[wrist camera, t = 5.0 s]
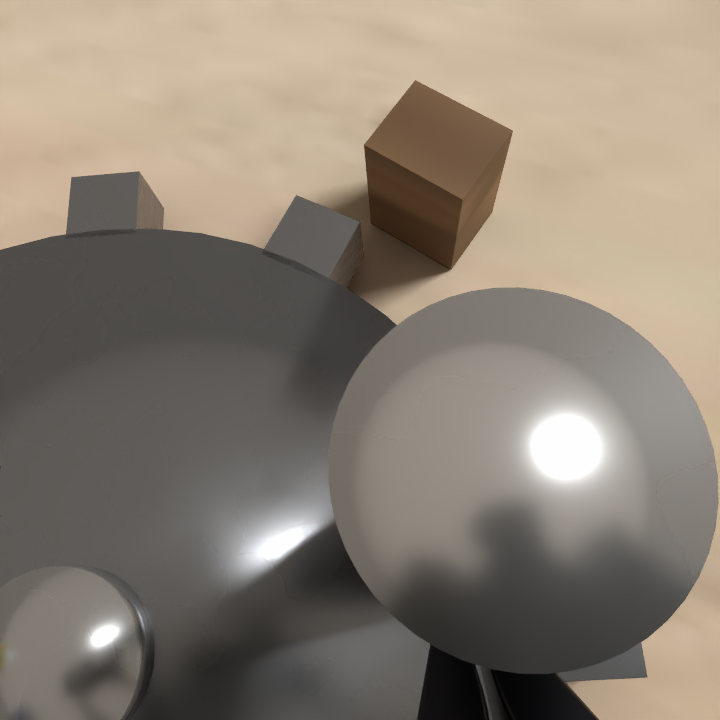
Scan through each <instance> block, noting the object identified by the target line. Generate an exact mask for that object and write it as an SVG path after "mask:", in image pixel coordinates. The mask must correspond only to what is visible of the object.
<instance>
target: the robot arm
mask: <svg viewBox="0 0 720 720" xmlns="http://www.w3.org/2000/svg"><path fill="white" fill-rule="evenodd" d="M480 668H481V673H482V677H483V681H484V685H485V689H486V693H487V697H488V701H489V705H490V709H491V714H492V718H493V720H599V719H598V718H597V717H596V716H595V715H594V714H593V712H592V711H591V710H590V709H589V708H588V707H587V706H586V705H585V703H584V702H583V701H582V700H581V699H580V698H579V697H578V696H577V695H576V693H575V692H574V691H573V690H572V689H571V688H570V687H569V686H568V685H567V683H566V682H565V681H564V680H563V679H562V678H561V677H560V676H559V675H558V673H550V674H520V673H512V672H506V671H500V670H494V669H489V668H486V667H483V666H480ZM417 720H489V714H488V708H487V704H486V700H485V696H484V692H483V688H482V685H481V682H480V678H479V675H478V671H477V668H476V665H475V664H473V663H469V662H466V661H463V660H461V659H459V658H457V657H455V656H452V655H450V654H448V653H446V652H444V651H442V650H439V649H437V648H436V647H434V646H433V645H431V644H430V648H429V654H428V659H427V665H426V671H425V676H424V682H423V688H422V693H421V699H420V704H419V710H418V716H417Z"/></svg>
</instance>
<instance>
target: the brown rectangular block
mask: <svg viewBox="0 0 720 720" xmlns="http://www.w3.org/2000/svg"><path fill="white" fill-rule="evenodd" d="M512 132H513V131H512V130H510V129H508V128H506V127H505V126H503V125H501V124H499V123H497V122H495V121H493V120H491V119H489V118H487V117H485V116H483V115H481V114H479V113H477V112H476V111H474V110H472V109H470V108H468V107H466V106H464V105H462V104H460V103H458V102H456V101H454V100H452V99H450V98H449V97H447V96H445V95H443V94H441V93H439V92H437V91H435V90H433V89H431V88H429V87H427V86H425V85H423V84H421V83H420V82H418V81H416V80H415V81H414V83H413V84H412V85H411V86H410V88H409V89H408V90H407V91H406V93H405V94H404V95H403V96H402V98H401V99H400V100H399V101H398V103H397V104H396V105H395V107H394V108H393V109H392V110H391V112H390V113H389V114H388V115H387V117H386V118H385V119H384V120H383V122H382V123H381V124H380V125H379V127H378V128H377V129H376V130H375V132H374V133H373V134H372V136H371V137H370V138H369V139H368V141H367V142H366V143H365V144H364V149H365V160H366V171H367V182H368V193H369V204H370V215H371V223H372V224H374V225H376V226H377V227H379V228H381V229H382V230H384V231H386V232H388V233H389V234H391V235H393V236H394V237H396V238H398V239H399V240H401V241H403V242H405V243H406V244H408V245H410V246H411V247H413V248H415V249H416V250H418V251H420V252H422V253H423V254H425V255H427V256H428V257H430V258H432V259H433V260H435V261H437V262H439V263H440V264H442V265H444V266H445V267H447V268H449V269H452V268H453V266H454V265H455V263H456V262H457V261H458V259H459V258H460V256H461V255H462V254H463V252H464V251H465V249H466V248H467V247H468V245H469V244H470V242H471V241H472V240H473V238H474V237H475V235H476V234H477V233H478V231H479V230H480V228H481V227H482V225H483V224H484V223H485V221H486V220H487V218H488V217H489V216H490V214H491V213H492V210H493V206H494V202H495V199H496V195H497V191H498V187H499V183H500V179H501V175H502V171H503V167H504V164H505V160H506V156H507V152H508V148H509V144H510V140H511V136H512Z"/></svg>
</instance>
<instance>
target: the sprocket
mask: <svg viewBox="0 0 720 720" xmlns="http://www.w3.org/2000/svg"><path fill="white" fill-rule="evenodd" d="M163 217H164V208H163V206H162V205H161V203H160V202H159V200H158V199H157V197H156V196H155V194H154V193H153V191H152V190H151V188H150V187H149V185H148V184H147V182H146V181H145V179H144V178H143V176H142V175H141V173H140V172H128V173H116V174H104V175H93V176H81V177H72V178H71V189H70V199H69V210H68V220H67V231H66V235H60V236H53V237H48V238H45V239H41V240H37V241H33V242H29V243H25V244H21V245H18V246H14V247H10V248H6V249H2V250H0V720H417V716H418V710H419V704H420V699H421V693H422V688H423V682H424V676H425V671H426V665H427V659H428V654H429V648H430V644H431V645H433V646H434V647H436V648H437V649H439V650H442V651H444V652H446V653H448V654H450V655H452V656H455V657H457V658H459V659H461V660H463V661H466V662H469V663H473V664H475V665H476V668H477V671H478V675H479V678H480V682H481V685H482V688H483V692H484V696H485V700H486V704H487V708H488V714H489V720H493V718H492V714H491V709H490V705H489V701H488V697H487V693H486V689H485V685H484V681H483V677H482V673H481V668H480V666H483V667H486V668H489V669H494V670H500V671H506V672H512V673H520V674H550V673H558V675H559V676H560V677H561V678H562V679H563V680H564V681H565V682H567V681H586V680H606V679H626V678H646V677H647V673H646V667H645V661H644V656H643V650H642V644H641V642H642V641H643V640H645V639H647V638H648V637H649V636H650V635H651V634H653V633H654V632H655V631H656V630H657V629H658V628H659V627H661V626H662V625H663V624H664V623H665V622H666V621H667V620H668V619H669V618H670V617H671V616H672V615H673V613H674V612H675V611H676V610H677V609H678V607H679V606H680V605H681V604H682V603H683V601H684V600H685V599H686V597H687V595H688V594H689V592H690V591H691V589H692V587H693V586H694V584H695V582H696V581H697V579H698V577H699V575H700V573H701V570H702V568H703V566H704V563H705V561H706V559H707V556H708V554H709V550H710V547H711V543H712V539H713V535H714V531H715V526H716V518H717V509H718V475H717V469H716V463H715V456H714V450H713V447H712V444H711V440H710V437H709V433H708V430H707V427H706V424H705V422H704V420H703V417H702V415H701V413H700V410H699V408H698V406H697V404H696V402H695V400H694V398H693V397H692V395H691V393H690V391H689V390H688V388H687V386H686V385H685V383H684V381H683V380H682V379H681V377H680V376H679V375H678V373H677V372H676V371H675V369H674V368H673V367H672V366H671V364H670V363H669V362H668V360H667V359H666V358H665V357H664V356H663V355H662V354H661V353H660V352H659V351H658V350H657V349H656V348H655V347H654V346H653V345H652V344H651V343H650V342H649V341H648V340H646V339H645V338H644V337H643V336H641V335H640V334H639V333H638V332H636V331H635V330H634V329H633V328H631V327H630V326H629V325H627V324H625V323H624V322H622V321H621V320H619V319H617V318H616V317H614V316H613V315H611V314H610V313H607V312H605V311H603V310H601V309H599V308H597V307H595V306H593V305H591V304H589V303H586V302H583V301H581V300H578V299H575V298H572V297H569V296H566V295H562V294H558V293H553V292H549V291H544V290H537V289H527V288H492V289H485V290H477V291H471V292H467V293H464V294H460V295H456V296H452V297H449V298H447V299H444V300H442V301H439V302H437V303H434V304H432V305H429V306H427V307H426V308H424V309H422V310H420V311H418V312H417V313H415V314H413V315H411V316H409V317H408V318H407V319H405V320H404V321H403V322H401V323H400V324H399V325H396V324H395V323H394V322H392V321H391V320H390V319H389V318H388V317H387V316H386V315H384V314H383V313H382V312H380V311H379V310H377V309H376V308H374V307H373V306H372V305H370V304H369V303H367V302H366V301H364V300H363V299H362V298H360V297H359V296H357V295H356V294H354V293H353V292H352V291H350V290H349V289H347V288H346V287H347V286H348V284H349V282H350V280H351V278H352V277H353V275H354V273H355V271H356V269H357V267H358V266H359V264H360V262H361V260H362V258H363V256H364V250H363V242H362V234H361V226H360V222H359V221H357V220H355V219H352V218H350V217H347V216H345V215H343V214H340V213H338V212H335V211H333V210H331V209H328V208H326V207H323V206H321V205H319V204H316V203H314V202H311V201H309V200H307V199H304V198H302V197H299V196H297V195H296V197H295V198H294V200H293V202H292V203H291V205H290V207H289V208H288V210H287V212H286V213H285V215H284V217H283V218H282V220H281V222H280V223H279V225H278V227H277V229H276V230H275V232H274V234H273V235H272V237H271V239H270V240H269V242H268V244H267V245H266V247H265V249H261V248H258V247H256V246H253V245H250V244H246V243H241V242H237V241H233V240H228V239H224V238H219V237H215V236H210V235H206V234H202V233H192V232H182V231H172V230H163Z"/></svg>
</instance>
